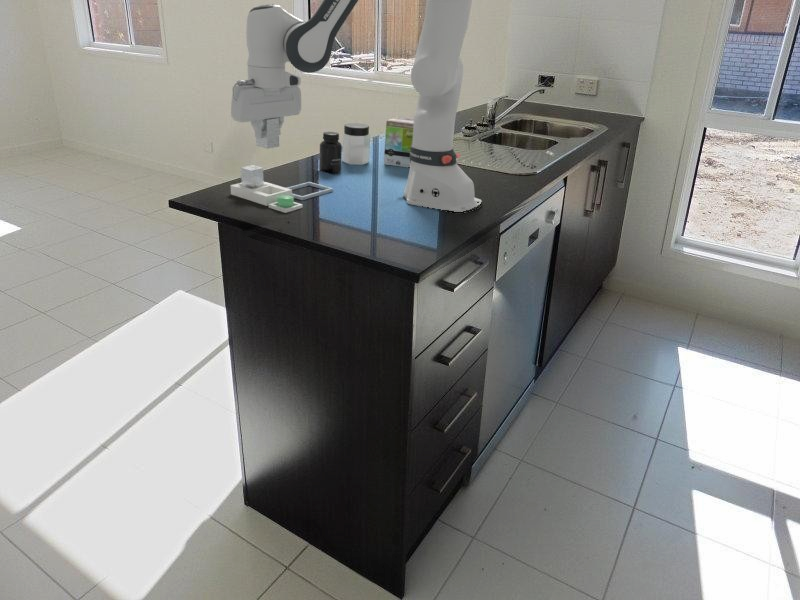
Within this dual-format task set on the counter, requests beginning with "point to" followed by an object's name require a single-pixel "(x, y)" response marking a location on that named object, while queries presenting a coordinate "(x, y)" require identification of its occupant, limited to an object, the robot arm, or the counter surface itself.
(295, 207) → the button housing
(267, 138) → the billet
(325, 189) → the tote
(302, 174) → the counter surface
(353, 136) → the jar
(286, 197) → the button
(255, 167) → the block
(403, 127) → the tea box
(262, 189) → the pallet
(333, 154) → the supplement bottle
